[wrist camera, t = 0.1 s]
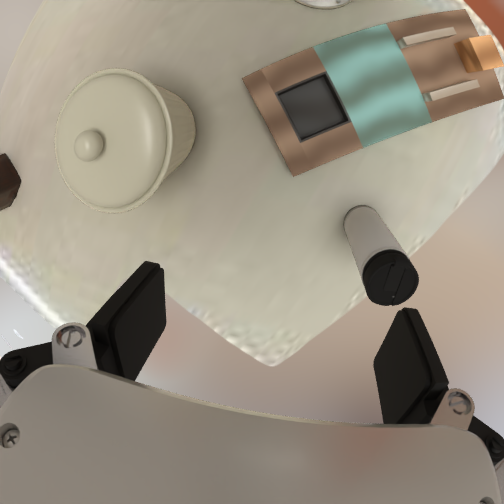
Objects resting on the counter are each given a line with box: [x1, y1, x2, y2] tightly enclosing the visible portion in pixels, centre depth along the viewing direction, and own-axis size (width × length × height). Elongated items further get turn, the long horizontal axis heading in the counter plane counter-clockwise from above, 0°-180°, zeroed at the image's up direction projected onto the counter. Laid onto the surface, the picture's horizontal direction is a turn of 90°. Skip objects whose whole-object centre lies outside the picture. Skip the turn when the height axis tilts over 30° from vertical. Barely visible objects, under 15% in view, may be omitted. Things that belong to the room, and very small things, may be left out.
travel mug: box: [344, 206, 419, 306], centre depth 38 cm, size 6×7×20 cm
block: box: [454, 35, 504, 73], centre depth 25 cm, size 5×5×5 cm
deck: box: [242, 9, 504, 177], centre depth 33 cm, size 16×40×7 cm, turn 117°
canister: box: [55, 68, 196, 213], centre depth 35 cm, size 18×18×21 cm
